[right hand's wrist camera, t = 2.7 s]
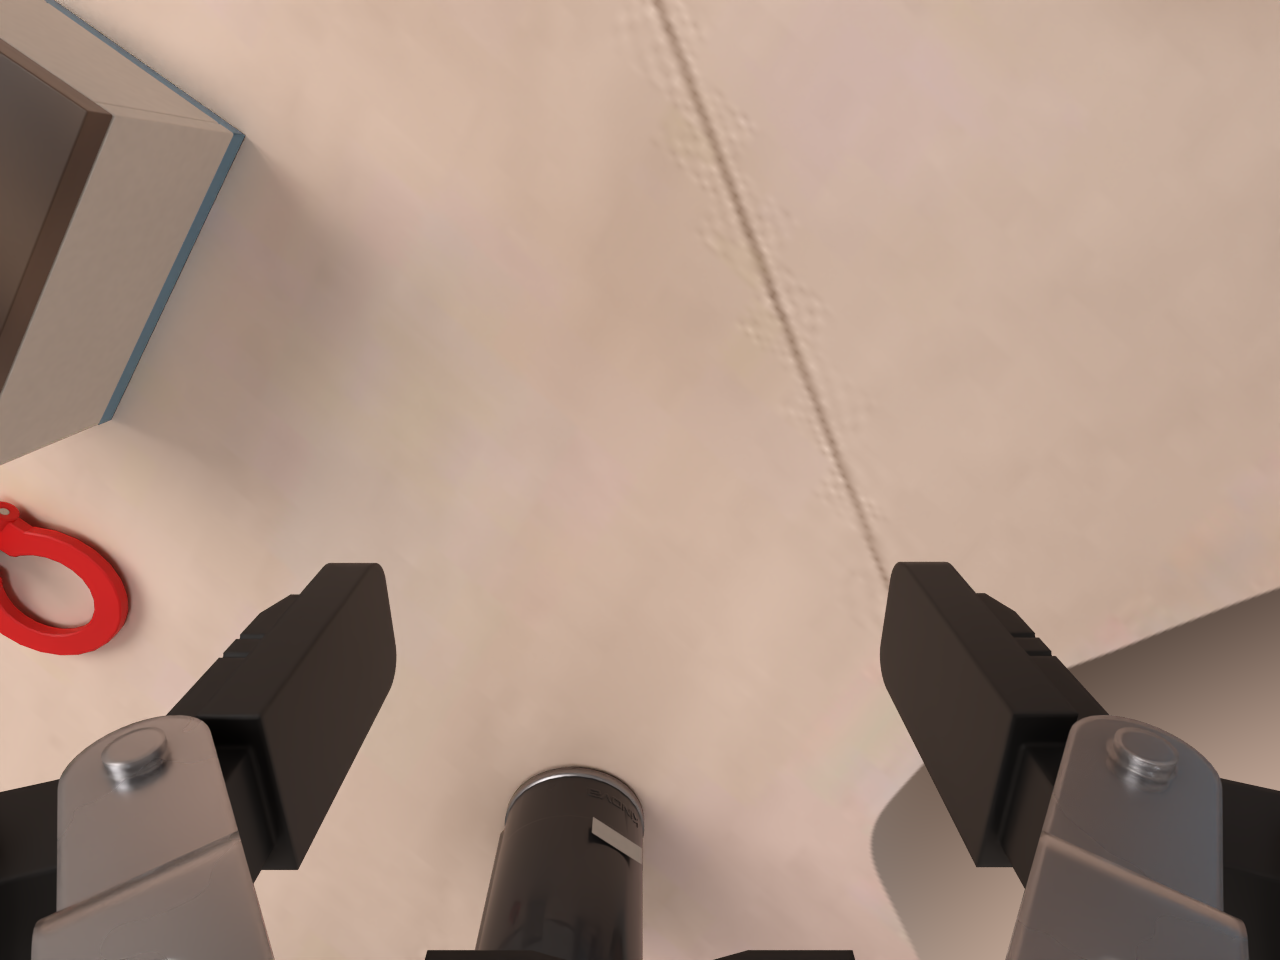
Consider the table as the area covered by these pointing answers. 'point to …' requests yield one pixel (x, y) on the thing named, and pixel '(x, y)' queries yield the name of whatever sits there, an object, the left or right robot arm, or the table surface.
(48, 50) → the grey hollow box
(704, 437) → the table surface
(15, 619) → the tow hook
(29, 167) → the lid
